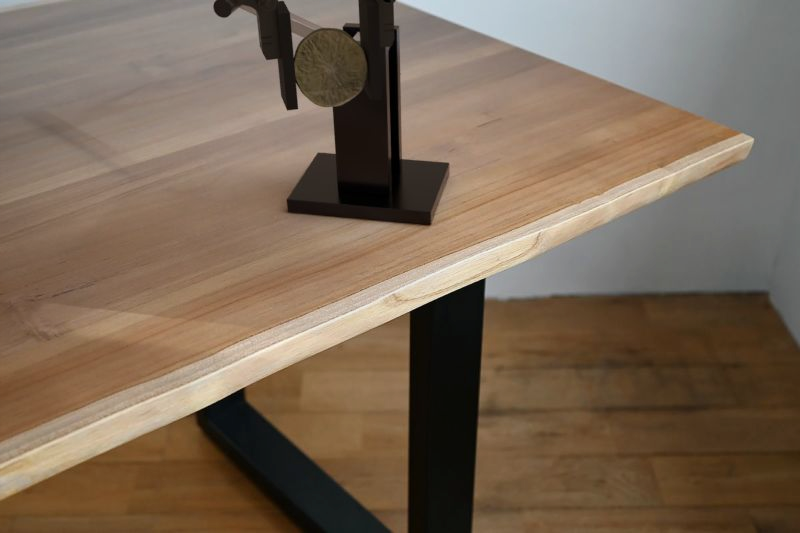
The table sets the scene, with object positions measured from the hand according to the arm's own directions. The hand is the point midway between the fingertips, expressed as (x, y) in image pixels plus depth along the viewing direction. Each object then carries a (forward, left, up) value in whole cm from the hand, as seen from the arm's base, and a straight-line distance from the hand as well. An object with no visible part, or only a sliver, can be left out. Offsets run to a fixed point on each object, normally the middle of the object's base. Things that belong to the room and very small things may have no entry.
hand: (330, 96), depth 62 cm
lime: (0, 0, 0) cm, 0 cm away
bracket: (-9, +4, -13) cm, 16 cm away
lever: (-11, 0, 0) cm, 11 cm away
